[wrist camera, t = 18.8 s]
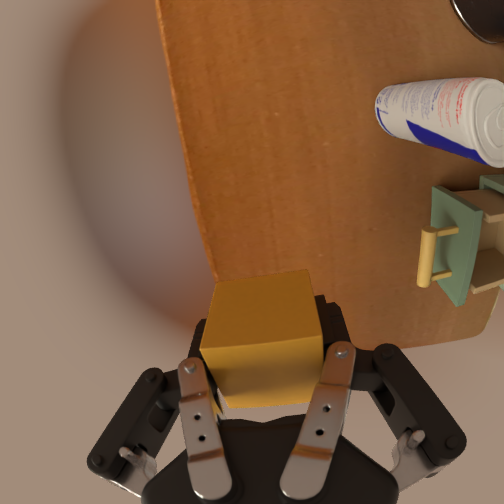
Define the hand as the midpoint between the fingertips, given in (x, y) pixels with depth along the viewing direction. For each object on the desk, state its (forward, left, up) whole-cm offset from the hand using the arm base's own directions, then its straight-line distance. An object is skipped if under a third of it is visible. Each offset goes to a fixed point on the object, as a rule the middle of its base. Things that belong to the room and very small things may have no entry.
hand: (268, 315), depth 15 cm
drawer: (+16, +16, -14) cm, 27 cm away
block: (0, 0, 0) cm, 0 cm away
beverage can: (+1, +18, -15) cm, 24 cm away
